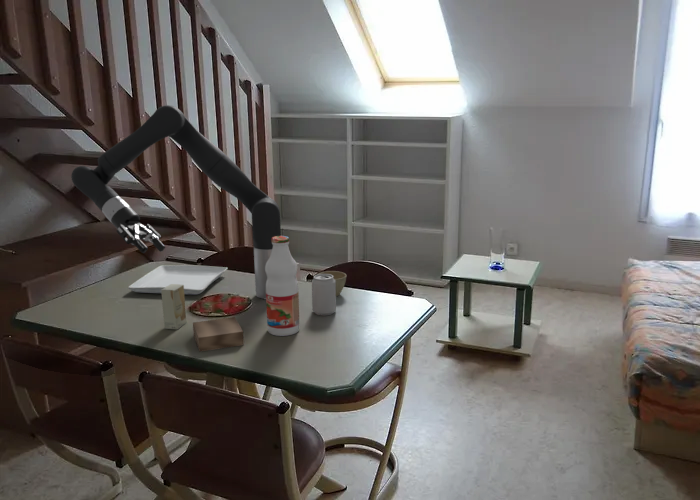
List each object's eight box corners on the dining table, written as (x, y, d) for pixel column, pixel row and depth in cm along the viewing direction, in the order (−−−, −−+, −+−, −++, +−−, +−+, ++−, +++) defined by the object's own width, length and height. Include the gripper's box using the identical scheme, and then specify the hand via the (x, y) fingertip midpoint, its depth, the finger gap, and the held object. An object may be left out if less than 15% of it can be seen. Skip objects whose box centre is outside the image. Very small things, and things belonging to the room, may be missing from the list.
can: (340, 310, 195) (339, 274, 192) (329, 317, 189) (328, 280, 186) (319, 306, 199) (318, 271, 196) (308, 314, 192) (307, 277, 189)
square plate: (161, 273, 237) (160, 263, 236) (229, 276, 234) (228, 266, 233) (127, 296, 211) (126, 285, 210) (203, 299, 208) (202, 288, 207)
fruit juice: (306, 330, 179) (303, 237, 172) (280, 339, 173) (276, 243, 166) (286, 322, 186) (283, 232, 178) (261, 330, 179) (256, 237, 172)
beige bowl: (336, 301, 203) (336, 281, 202) (311, 296, 209) (311, 276, 207) (352, 293, 212) (352, 273, 210) (328, 288, 217) (327, 269, 215)
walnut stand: (235, 329, 180) (234, 316, 179) (243, 344, 169) (243, 331, 168) (193, 335, 176) (192, 322, 175) (199, 351, 165) (198, 337, 164)
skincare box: (177, 330, 180) (174, 290, 177) (163, 329, 181) (160, 289, 178) (187, 322, 186) (184, 283, 183) (174, 321, 187) (170, 283, 184)
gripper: (111, 205, 181) (146, 242, 178) (142, 205, 194) (175, 240, 191) (98, 223, 183) (132, 261, 180) (129, 223, 196) (162, 257, 193)
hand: (154, 250), depth 185 cm, fingers open, 8 cm apart
